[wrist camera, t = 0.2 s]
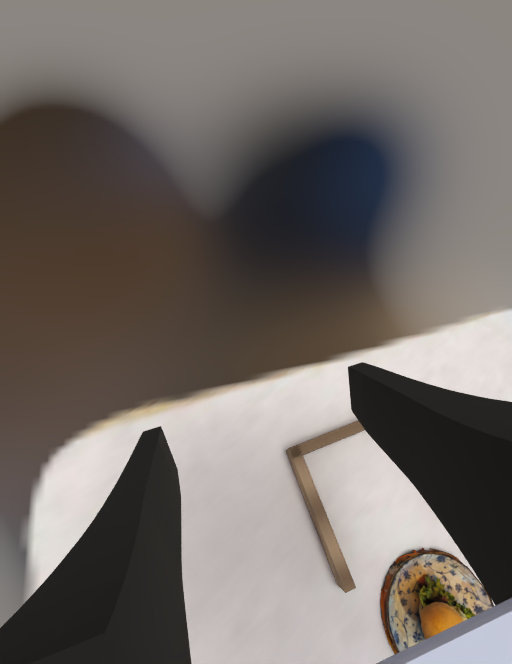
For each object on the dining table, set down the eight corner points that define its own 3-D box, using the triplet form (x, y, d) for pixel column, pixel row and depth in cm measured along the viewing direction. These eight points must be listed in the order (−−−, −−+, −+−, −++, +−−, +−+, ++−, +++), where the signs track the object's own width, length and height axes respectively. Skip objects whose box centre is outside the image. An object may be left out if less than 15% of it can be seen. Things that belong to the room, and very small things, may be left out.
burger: (495, 702, 33) (561, 757, 26) (377, 673, 33) (411, 720, 27) (484, 559, 38) (536, 575, 31) (381, 536, 38) (410, 547, 32)
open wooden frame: (468, 520, 39) (485, 522, 37) (337, 585, 36) (345, 592, 33) (403, 403, 45) (414, 398, 42) (285, 450, 42) (288, 448, 39)
